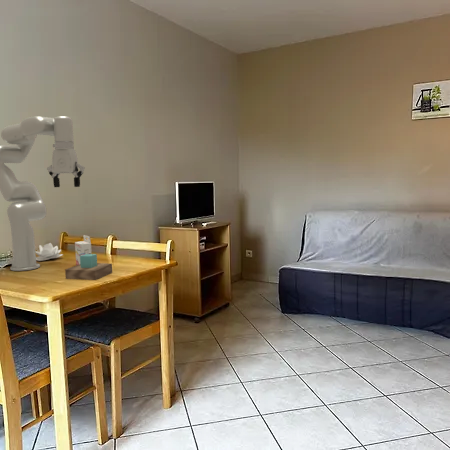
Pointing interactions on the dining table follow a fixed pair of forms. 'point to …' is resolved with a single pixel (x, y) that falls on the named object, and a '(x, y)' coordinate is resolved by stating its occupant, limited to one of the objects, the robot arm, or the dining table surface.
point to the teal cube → (88, 260)
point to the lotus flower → (48, 252)
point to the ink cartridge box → (82, 248)
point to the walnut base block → (88, 272)
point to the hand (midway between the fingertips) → (67, 187)
